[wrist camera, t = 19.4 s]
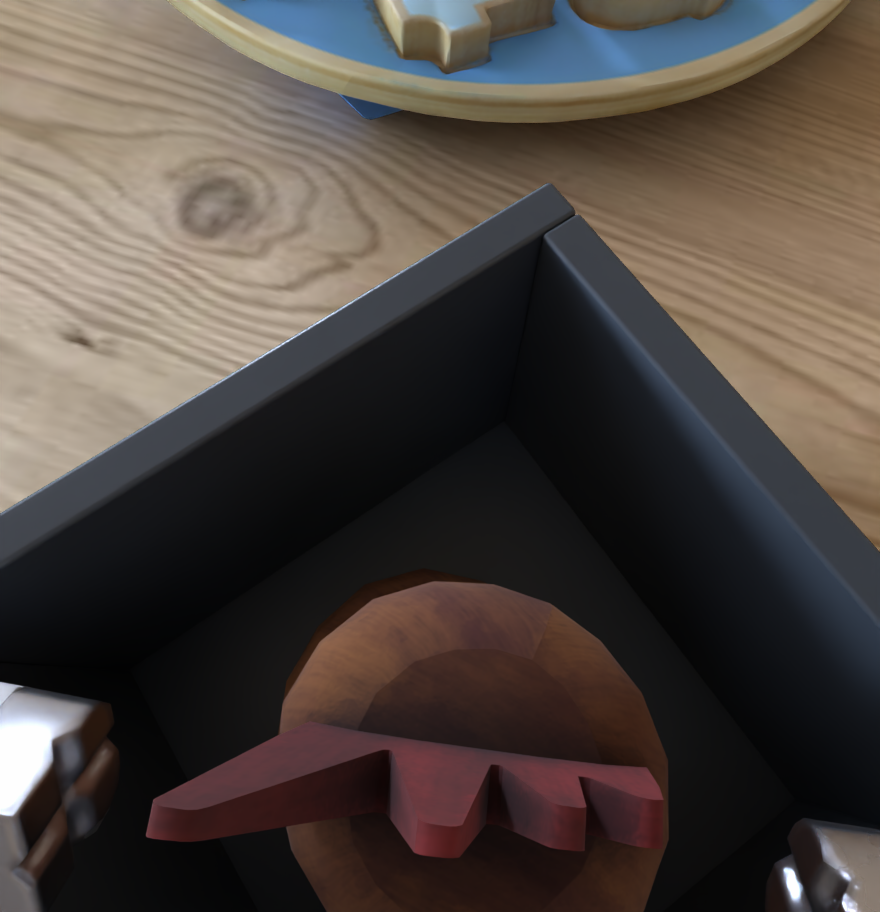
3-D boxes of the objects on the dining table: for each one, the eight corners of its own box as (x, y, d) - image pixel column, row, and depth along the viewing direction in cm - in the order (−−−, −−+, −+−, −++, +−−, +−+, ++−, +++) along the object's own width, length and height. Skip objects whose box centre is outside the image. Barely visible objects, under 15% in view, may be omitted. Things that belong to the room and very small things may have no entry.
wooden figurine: (285, 769, 18) (-342, 1075, 4) (397, 564, 20) (258, 227, 5) (530, 917, 17) (959, 2119, 3) (629, 688, 19) (1237, 687, 4)
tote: (822, 803, 19) (1214, 923, 9) (376, 1179, 16) (273, 1864, 7) (507, 398, 22) (550, 178, 13) (105, 662, 20) (-211, 637, 10)
